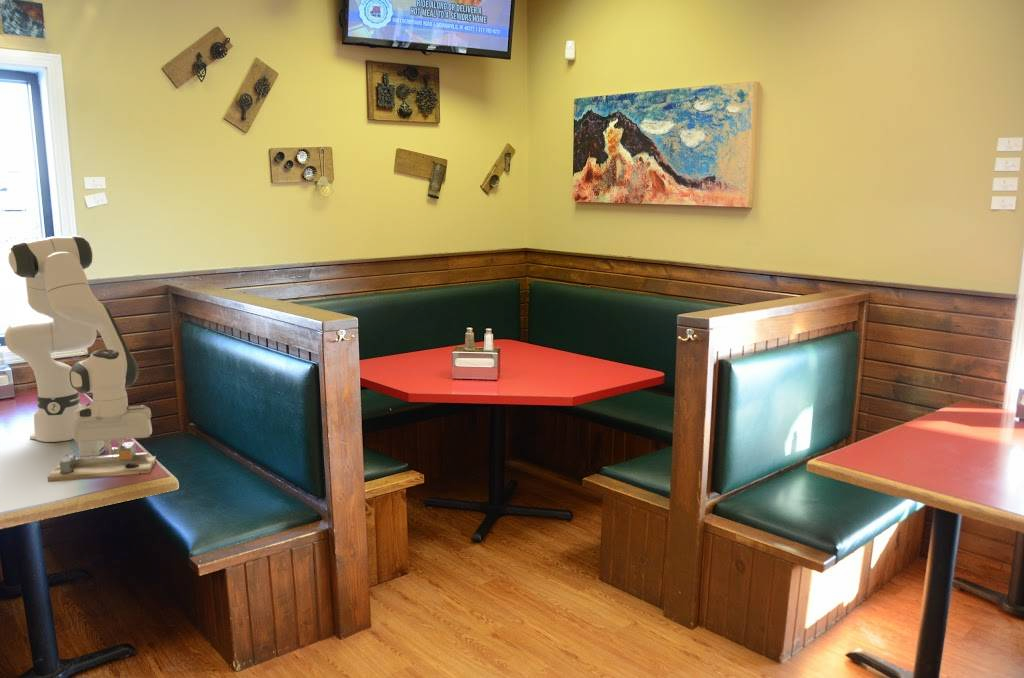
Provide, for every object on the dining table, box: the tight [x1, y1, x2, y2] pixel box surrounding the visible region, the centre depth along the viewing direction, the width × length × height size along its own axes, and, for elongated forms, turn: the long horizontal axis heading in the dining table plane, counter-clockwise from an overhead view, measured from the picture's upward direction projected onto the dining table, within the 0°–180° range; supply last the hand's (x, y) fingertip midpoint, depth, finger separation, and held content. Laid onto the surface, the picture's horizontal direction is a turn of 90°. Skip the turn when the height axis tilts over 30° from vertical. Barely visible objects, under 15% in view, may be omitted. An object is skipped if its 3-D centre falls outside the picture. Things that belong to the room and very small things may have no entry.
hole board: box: [47, 455, 157, 482], centre depth 235 cm, size 12×26×1 cm, turn 105°
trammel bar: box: [59, 451, 148, 474], centre depth 235 cm, size 8×22×3 cm, turn 105°
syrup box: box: [74, 411, 106, 457], centre depth 249 cm, size 6×6×14 cm
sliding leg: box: [119, 441, 137, 467], centre depth 235 cm, size 7×3×6 cm, turn 15°
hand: (115, 454), depth 234 cm, fingers closed
